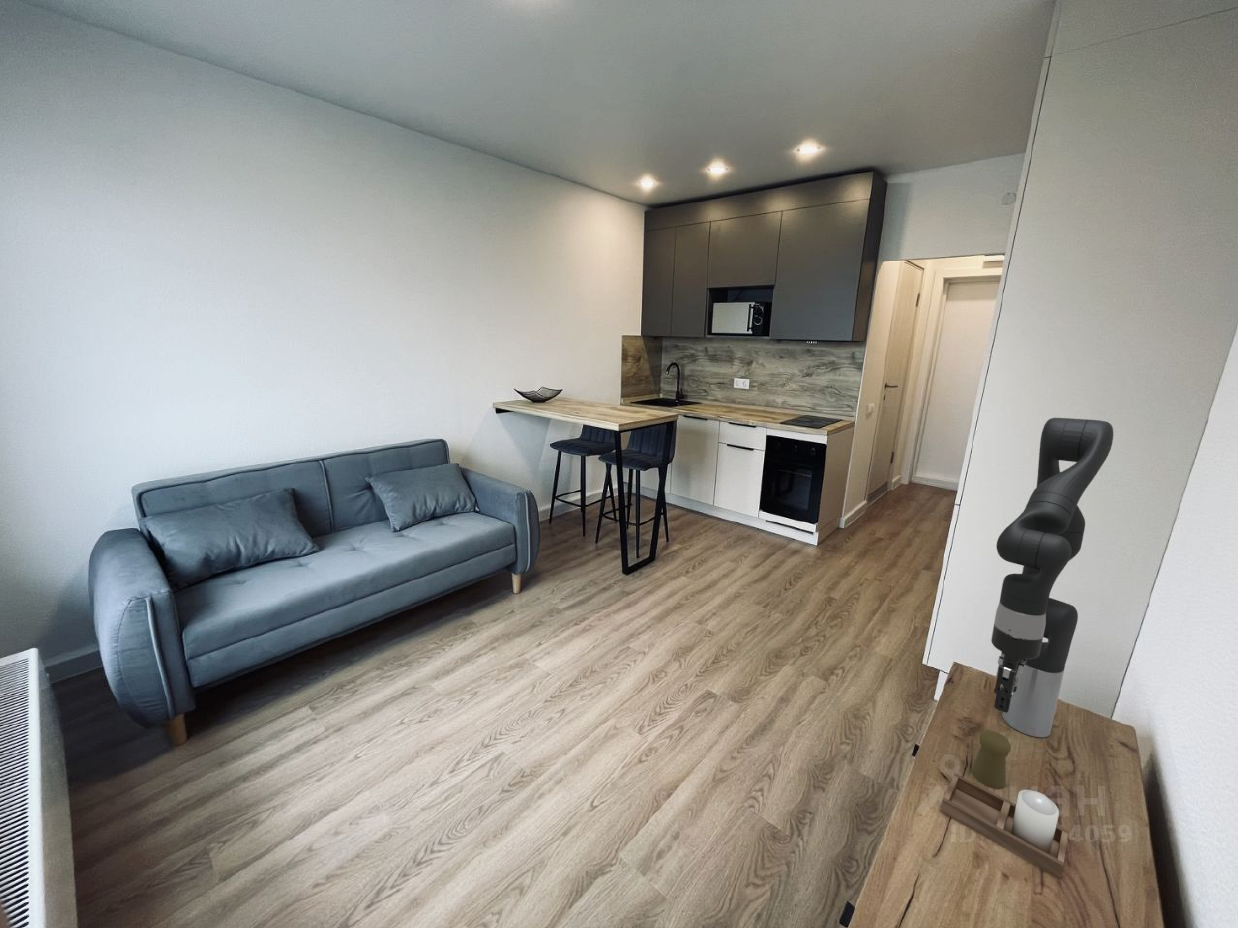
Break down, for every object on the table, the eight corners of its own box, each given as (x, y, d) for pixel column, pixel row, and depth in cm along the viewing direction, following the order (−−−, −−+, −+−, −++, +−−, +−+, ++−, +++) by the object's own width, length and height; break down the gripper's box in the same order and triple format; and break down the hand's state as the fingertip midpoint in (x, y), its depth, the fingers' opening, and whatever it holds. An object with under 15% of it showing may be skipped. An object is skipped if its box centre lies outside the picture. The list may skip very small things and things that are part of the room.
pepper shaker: (1012, 795, 100) (1021, 749, 98) (979, 789, 101) (987, 744, 99) (996, 771, 106) (1004, 727, 103) (965, 766, 107) (972, 723, 105)
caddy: (952, 787, 102) (954, 772, 101) (1064, 846, 89) (1068, 830, 89) (940, 814, 96) (942, 799, 95) (1059, 882, 83) (1063, 865, 82)
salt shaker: (1013, 822, 93) (1022, 777, 91) (1051, 842, 89) (1062, 796, 87) (1008, 841, 89) (1017, 795, 87) (1048, 863, 85) (1059, 815, 83)
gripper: (1001, 607, 103) (990, 675, 106) (987, 634, 93) (974, 707, 97) (1048, 621, 98) (1034, 691, 101) (1037, 650, 88) (1022, 727, 92)
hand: (1005, 699), depth 99 cm, fingers open, 8 cm apart
